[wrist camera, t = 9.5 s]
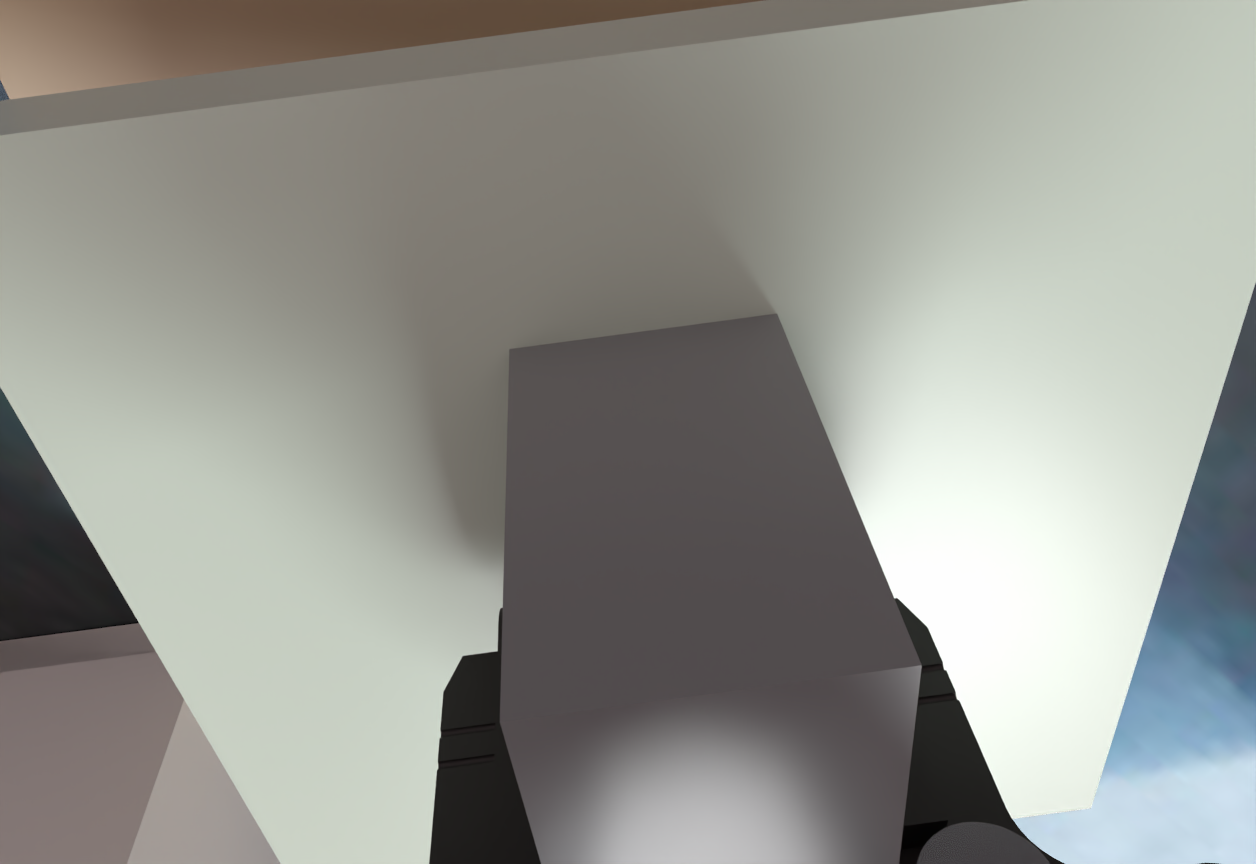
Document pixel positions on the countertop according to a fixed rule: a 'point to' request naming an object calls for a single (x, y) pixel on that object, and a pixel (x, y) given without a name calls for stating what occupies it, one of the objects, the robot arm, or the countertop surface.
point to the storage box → (110, 760)
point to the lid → (645, 400)
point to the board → (256, 33)
